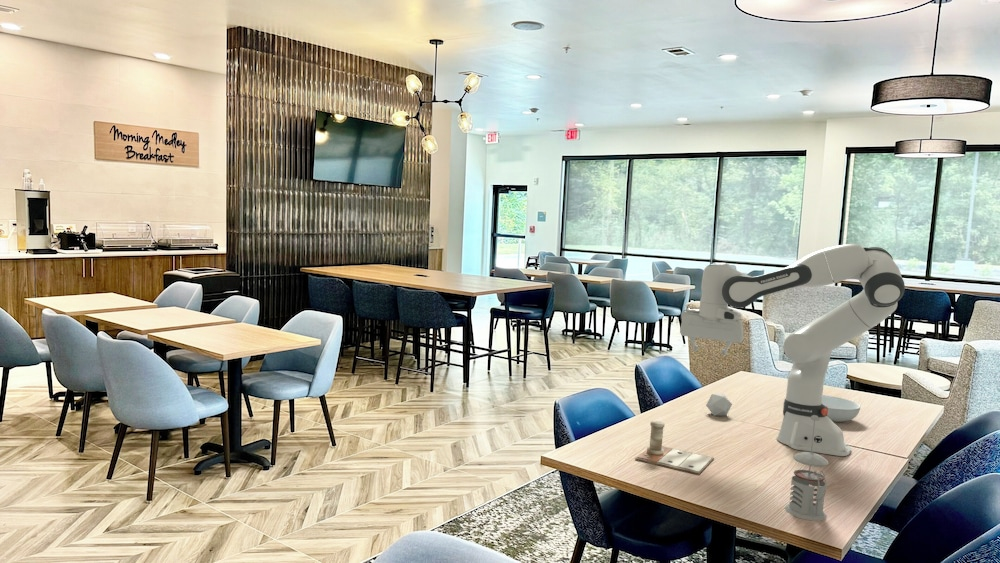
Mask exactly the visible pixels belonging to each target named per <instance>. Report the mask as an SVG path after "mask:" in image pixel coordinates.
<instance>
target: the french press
mask: <svg viewBox="0 0 1000 563" xmlns="http://www.w3.org/2000/svg"><path fill="white" fill-rule="evenodd" d="M811 420H814V426H813V436H812V446H811V452H810V451H802V452H797V453H795V454H794V455H793V456H792V458H793V459H794V461H796V462H798V463H800V464H803V465H807V466H809V469H797V470H794V472H793V474H794V475H792V476H791V484H790V486H792V487H791V488H790V491H791V492H790V493H789V494H790V497H789V500H790V501H789V503H788V504H787V505H785V506H784V510H785V511H786V513H788V514H790V515H791V516H793V517H797V518H799V519H803V520H806V521H807V520H808V521H814V522H815V521H824V520H826V519H827V517H828V515H827V514H826V513H825V511H824V502H825V495H826V492H827V491H826V490H827V480H826V476H825V473H824V471H823V470H820V472H817V471H816V470H814V471H813V470H811V466H812V467H826V466H828V464H829V461H828V459H826V458H825V457H824V456H822V455H821V454H820V453H817V452H812V447H813V437H814V427H815V421H819V417H818V416H816V415H812V416H811ZM815 487H817V488H815ZM815 492H816V493H815Z"/></svg>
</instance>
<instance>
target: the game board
mask: <svg viewBox="0 0 1000 563" xmlns="http://www.w3.org/2000/svg"><path fill="white" fill-rule="evenodd" d="M662 448H663V449H664V454H663V455H660V456H657V455H651V454H649V453H647V449H645V450H644V451H643V452H642V453H639V455H638V456H637V457H635V458H634V459H635V461H638V460H639V462H642V461H643V462H642V463H646V462H647V463H646V464H651V465H655V466H659V467H663V466H664V468H667V467H668V469H673V470H675V471H676V470H677V471H680V472H681V471H682V472H684V471H685V473H688V474H694V475H697V476H700V475H701V473H702V472H704V470H706V468H707V467H708V466H709V465H710V464H711V463H712V462H713V461H714V459H715V457H713V456H710V455H709V456H708V455H704V454H700V453H695V452H690V451H686V450H683V449H682V450H681V449H677V448H673V447H667V446H665V445H664V446H663V445H662Z"/></svg>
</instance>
